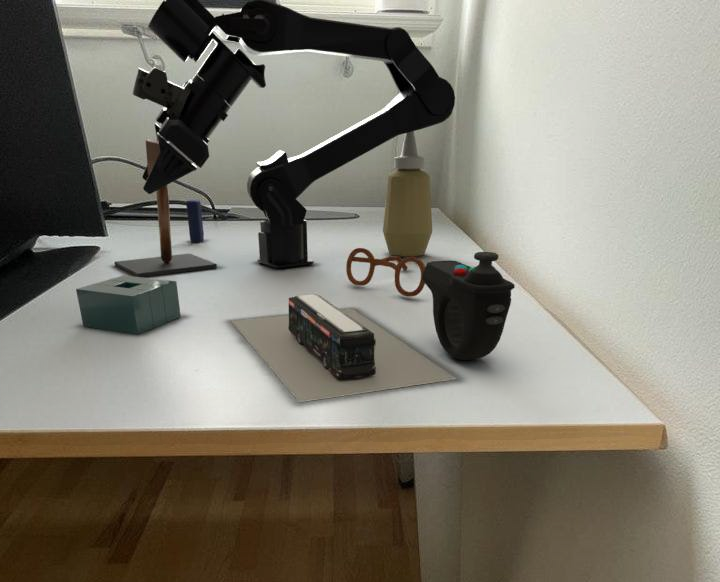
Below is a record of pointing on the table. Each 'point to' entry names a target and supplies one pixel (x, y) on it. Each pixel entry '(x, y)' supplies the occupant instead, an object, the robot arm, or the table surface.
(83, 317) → the holder
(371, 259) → the glasses
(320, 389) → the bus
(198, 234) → the eraser
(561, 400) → the table surface
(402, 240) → the squeeze bottle
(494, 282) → the controller
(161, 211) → the brown rod with block
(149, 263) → the mat
